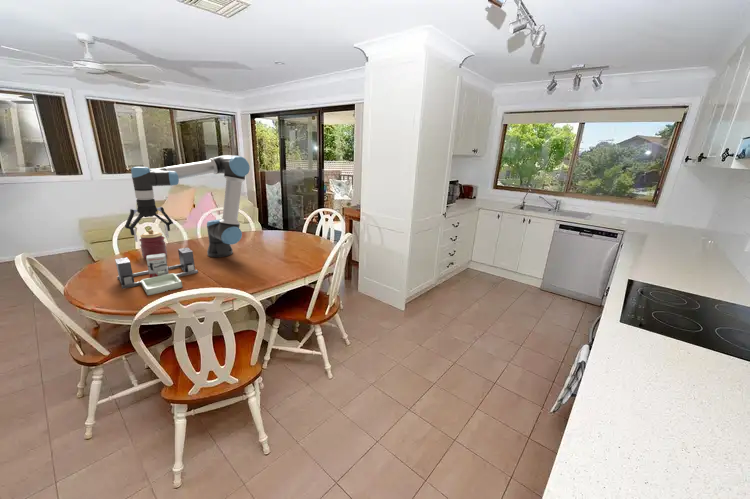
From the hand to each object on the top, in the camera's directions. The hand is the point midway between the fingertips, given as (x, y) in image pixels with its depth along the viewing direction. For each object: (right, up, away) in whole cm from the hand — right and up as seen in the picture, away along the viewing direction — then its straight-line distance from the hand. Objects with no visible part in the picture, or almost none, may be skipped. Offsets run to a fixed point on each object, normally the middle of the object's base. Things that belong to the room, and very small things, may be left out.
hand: (152, 239), depth 162 cm
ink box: (-1, -20, +7) cm, 21 cm away
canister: (-23, -10, +34) cm, 42 cm away
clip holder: (-1, -20, +7) cm, 21 cm away
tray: (+9, -24, -5) cm, 26 cm away
